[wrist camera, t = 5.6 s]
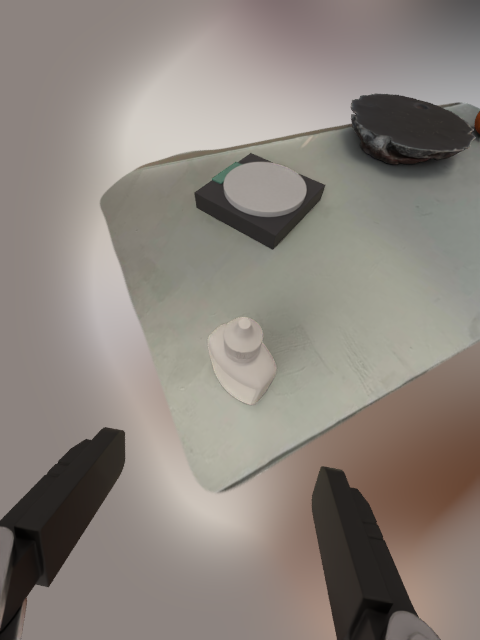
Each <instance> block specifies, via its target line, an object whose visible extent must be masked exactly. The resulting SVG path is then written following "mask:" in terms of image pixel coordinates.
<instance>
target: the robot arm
mask: <svg viewBox="0 0 480 640" xmlns="http://www.w3.org/2000/svg"><path fill="white" fill-rule="evenodd" d="M124 463H125V432H124V431H123V430H118V429H112V428H106V427H105V428H103V429H101V430H100V431H99V433H98V434H97V435H96V436H95V437H94V438H93V439H92V440H88V439H86V440H84V441H82V442H81V443H79V444H77V445H76V446H74V447H73V448H71V449H70V450H69V451H68V452H67V453H66V454H65V455H64V456H63V457H62V458H61V459H60V460H59V461H58V463H57V464H55V465H54V466H53V467H52V468H51V469H50V470H49V472H48V473H47V475H44V477H43V478H42V479H41V480H40V481H39V482H38V483H37V484H36V485H35V486H34V487H33V488H32V489H31V490H30V491H29V492H28V493H27V494H26V495H25V496H24V497H23V498H22V499H21V500H20V501H19V502H18V503H17V504H16V505H15V506H14V507H13V508H12V509H11V510H10V511H9V512H8V513H7V514H6V515H5V516H4V517H3V519H1V520H0V640H21V637H22V631H23V624H24V618H25V611H26V605H27V598H26V597H27V596H28V594H29V593H30V591H31V590H32V588H33V587H34V585H35V584H37V585H41V586H46V587H49V586H50V584H51V583H52V581H53V579H54V578H55V576H56V575H57V573H58V572H59V570H60V568H61V567H62V565H63V564H64V562H65V561H66V559H67V558H68V556H69V554H70V553H71V551H72V550H73V548H74V547H75V545H76V543H77V542H78V540H79V539H80V537H81V535H82V534H83V533H84V531H85V529H86V528H87V526H88V525H89V523H90V522H91V520H92V518H93V517H94V515H95V514H96V512H97V510H98V509H99V507H100V506H101V504H102V503H103V501H104V500H105V498H106V497H107V495H108V493H109V492H110V490H111V489H112V487H113V485H114V484H115V482H116V481H117V479H118V478H119V476H120V474H121V472H122V469H123V467H124ZM312 512H313V518H314V523H315V528H316V534H317V539H318V544H319V549H320V554H321V559H322V565H323V570H324V574H325V580H326V585H327V590H328V595H329V600H330V605H331V610H332V616H333V621H334V626H335V631H336V636H337V640H441V639H440V638H439V637H438V635H437V634H436V633H435V632H434V631H433V630H432V629H431V628H430V627H429V626H428V625H427V624H426V623H425V622H424V621H422V620H421V619H420V618H419V617H418V615H417V613H416V611H415V610H414V607H413V605H412V603H411V601H410V599H409V596H408V594H407V592H406V589H405V587H404V585H403V582H402V580H401V578H400V575H399V573H398V571H397V568H396V566H395V564H394V561H393V559H392V557H391V554H390V552H389V549H388V547H387V545H386V543H385V541H384V540H383V536H382V533H381V531H380V529H379V526H378V525H377V523H376V522H377V521H376V519H375V517H374V515H373V512H372V510H371V507H370V505H369V503H368V502H367V501H366V500H365V498H364V497H363V496H362V494H361V493H360V492H359V490H358V489H355V488H350V487H349V484H348V481H347V478H346V476H345V473H344V472H343V471H342V470H340V469H335V468H329V467H321V468H320V471H319V474H318V478H317V481H316V484H315V488H314V491H313V495H312Z"/></svg>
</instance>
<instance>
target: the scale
mask: <svg viewBox="0 0 480 640" xmlns="http://www.w3.org/2000/svg"><path fill="white" fill-rule="evenodd" d="M324 188H325V185H324V184H321V183H319V182H317V181H314V180H312V179H310V178H307V177H305V176H303V175H301V174H298V173H296V172H295V171H293V170H292V169H290V168H288V167H286V166H283V165H280V164H276V163H273V162H270V161H268V160H266V159H263V158H261V157H259V156H256V155H254V154H252V153H250V154H249V155H248V156H246V157H245V158H243V159H242V160H240V161H239V162H235V163H233V164H232V165H230V166H229V167H228V168H226V169H225V170H223V171H222V172H220V173H219V174H218V175H216V176H215V177H213V178H212V181H210V182H209V183H208V184H206V185H205V186H203V187H202V188H200V189H199V190H198V191H196V192H195V200H196V206H197V208H198V209H200V210H202V211H204V212H206V213H208V214H209V215H211V216H213V217H215V218H217V219H218V220H220V221H222V222H224V223H226V224H228V225H229V226H231V227H233V228H235V229H237V230H238V231H240V232H242V233H244V234H246V235H248V236H249V237H251V238H253V239H255V240H257V241H258V242H260V243H262V244H264V245H266V246H268V247H269V248H271V249H274V248H275V247H276V246H277V245H278V244H279V243H280V241H281V240H282V239H283V238H284V237H285V236H286V235H287V234H288V233H289V232H290V231H291V230H292V229H293V228H294V227H295V226H296V225H297V224H298V223H299V221H300V220H301V219H302V218H303V217H304V216H305V215H306V214H307V213H308V212H309V211H310V210H311V209H312V208H313V207H314V206H315V205H316V204H317V203H318V202H319V200H320V199H321V196H322V193H323V191H324Z"/></svg>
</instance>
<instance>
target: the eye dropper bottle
mask: <svg viewBox="0 0 480 640" xmlns="http://www.w3.org/2000/svg"><path fill="white" fill-rule="evenodd" d="M262 341H263V331H262V329H261V327H260V325H259V324H258V323H257V322H256V321H255V320H253V319H250V318H246V317H239V318H235V319H233V320H232V321H230V322H229V323H224V324H222V325H220V326H219V327H218V328H216V329H215V330H214V331H213V332H212V333H211V334H210V335H209V337H208V349H209V353H210V358H211V362H212V366H213V370H214V373H215V375H216V377H217V379H218V381H219V382H220V384H221V385H222V386H223V388H224V389H225V390H226V391H227V392H228V393H229V394H230V395H232V396H233V397H234V398H236V399H237V400H239V401H241V402H243V403H246V404H248V405H254V404H255V403H256V402H257V401H258V400H259V399H260V398H261V397H262V396H263V395H264V393H265V392H266V390H267V389H268V387H269V385H270V384H271V382H272V380H273V379H274V377H275V375H276V372H277V366H276V363H275V361H274V359H273V357H272V355H271V353H270V352H269V350H268V349H267V347H266V346H265V345H264V344H263V342H262Z"/></svg>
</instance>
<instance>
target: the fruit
mask: <svg viewBox="0 0 480 640" xmlns="http://www.w3.org/2000/svg"><path fill="white" fill-rule="evenodd" d="M475 129H476V131H477V132H478V133H479V134H480V111H479V113H478V114H477V117H476V119H475Z"/></svg>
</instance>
